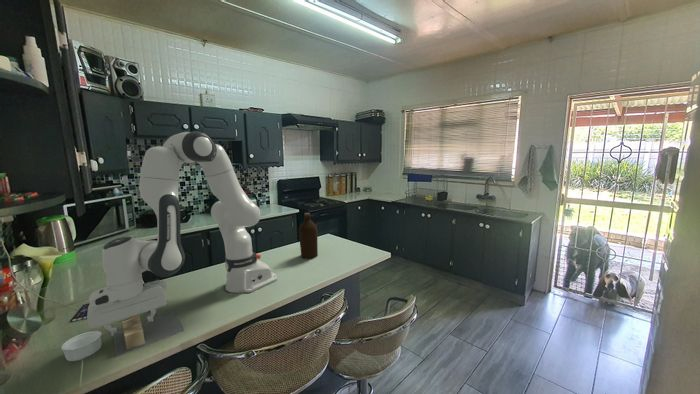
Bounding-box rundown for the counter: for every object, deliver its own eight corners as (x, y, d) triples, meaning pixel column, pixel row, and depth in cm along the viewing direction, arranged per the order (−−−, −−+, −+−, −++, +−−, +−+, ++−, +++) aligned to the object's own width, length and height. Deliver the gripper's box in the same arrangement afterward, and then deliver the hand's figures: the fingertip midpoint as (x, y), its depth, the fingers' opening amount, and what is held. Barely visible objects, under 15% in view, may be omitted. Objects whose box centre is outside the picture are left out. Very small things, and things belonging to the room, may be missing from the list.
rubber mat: (175, 312, 106) (175, 311, 106) (184, 331, 94) (184, 330, 94) (113, 333, 94) (113, 332, 94) (115, 358, 82) (115, 357, 82)
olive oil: (317, 259, 155) (315, 215, 151) (298, 259, 155) (295, 215, 151) (319, 252, 165) (317, 211, 161) (302, 252, 166) (299, 211, 162)
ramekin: (69, 349, 87) (67, 337, 86) (106, 339, 92) (104, 327, 91) (59, 367, 80) (56, 354, 79) (99, 355, 84) (97, 342, 83)
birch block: (124, 337, 84) (122, 320, 93) (127, 350, 85) (124, 332, 94) (142, 330, 87) (139, 314, 96) (145, 343, 88) (141, 326, 97)
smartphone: (67, 323, 101) (83, 304, 114) (67, 324, 101) (83, 305, 114) (94, 317, 104) (106, 299, 117) (94, 318, 104) (106, 300, 117)
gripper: (163, 275, 98) (168, 311, 100) (83, 296, 85) (91, 337, 87) (166, 280, 93) (172, 318, 95) (82, 304, 80) (91, 347, 82)
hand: (133, 327), depth 91 cm, fingers open, 8 cm apart
